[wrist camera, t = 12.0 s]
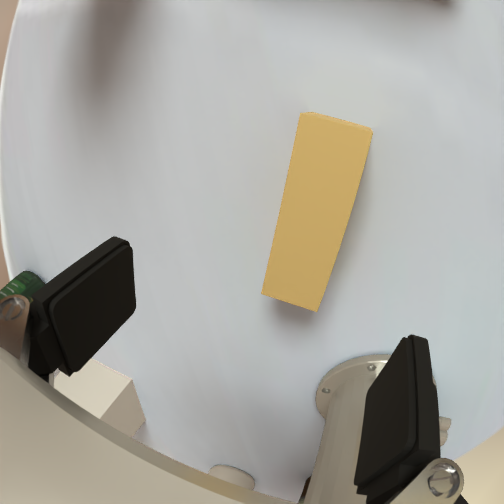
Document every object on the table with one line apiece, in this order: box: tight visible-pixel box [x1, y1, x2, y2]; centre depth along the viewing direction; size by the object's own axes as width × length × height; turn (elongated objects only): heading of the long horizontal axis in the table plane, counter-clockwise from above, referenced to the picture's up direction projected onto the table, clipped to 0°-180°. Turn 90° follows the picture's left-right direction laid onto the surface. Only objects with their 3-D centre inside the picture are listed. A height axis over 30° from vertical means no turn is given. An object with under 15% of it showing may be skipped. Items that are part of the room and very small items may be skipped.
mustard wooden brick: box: [261, 112, 373, 312], centre depth 20 cm, size 4×12×4 cm, turn 170°
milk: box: [54, 358, 146, 438], centre depth 35 cm, size 12×12×26 cm
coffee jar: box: [0, 271, 45, 303], centre depth 34 cm, size 10×8×19 cm
